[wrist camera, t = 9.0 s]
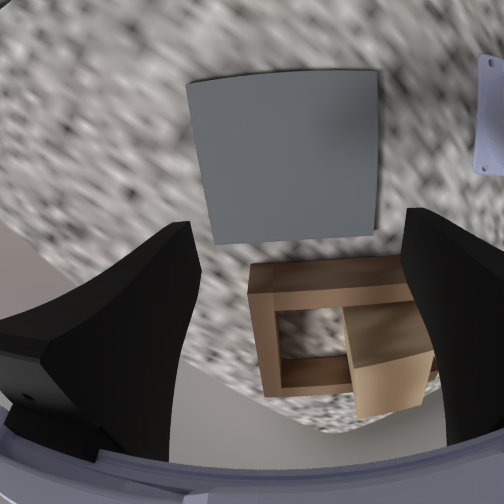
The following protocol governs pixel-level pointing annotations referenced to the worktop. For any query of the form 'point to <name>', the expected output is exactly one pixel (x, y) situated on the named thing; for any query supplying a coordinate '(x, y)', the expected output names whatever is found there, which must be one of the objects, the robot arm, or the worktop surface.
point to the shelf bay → (314, 297)
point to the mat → (288, 154)
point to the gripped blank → (387, 356)
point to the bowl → (3, 3)
